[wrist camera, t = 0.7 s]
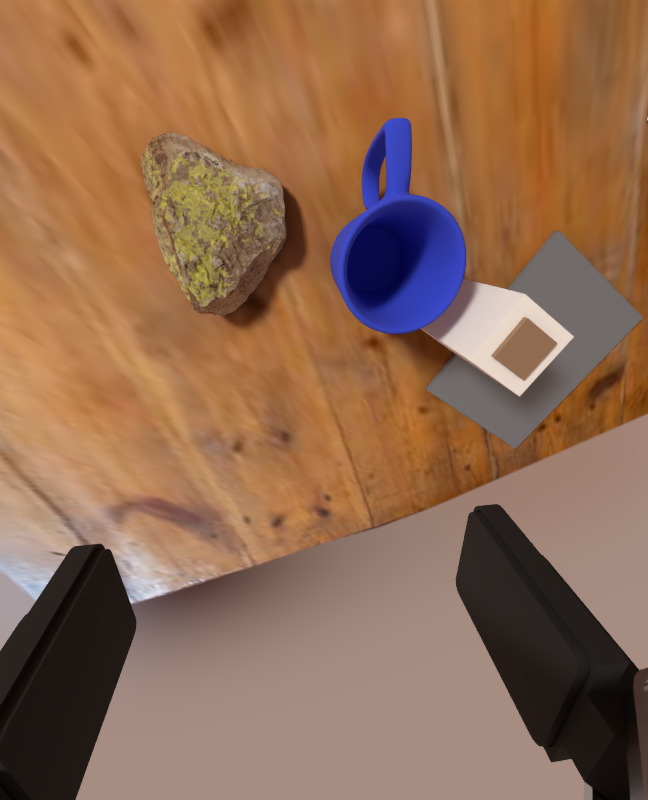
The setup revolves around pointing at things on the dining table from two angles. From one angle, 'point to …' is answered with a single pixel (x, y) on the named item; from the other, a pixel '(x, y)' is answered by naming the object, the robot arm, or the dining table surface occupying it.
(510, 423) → the mat
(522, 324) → the block
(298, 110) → the dining table surface
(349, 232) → the mug
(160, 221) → the rock
